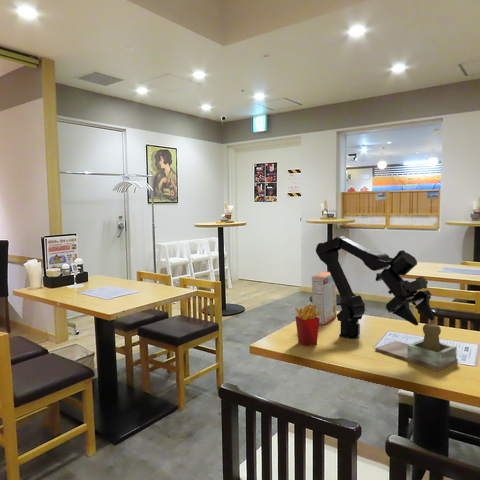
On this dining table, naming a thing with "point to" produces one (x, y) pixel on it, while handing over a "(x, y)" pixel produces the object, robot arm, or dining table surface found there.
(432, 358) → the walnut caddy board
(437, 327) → the cork
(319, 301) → the cracker box
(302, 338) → the french fries
